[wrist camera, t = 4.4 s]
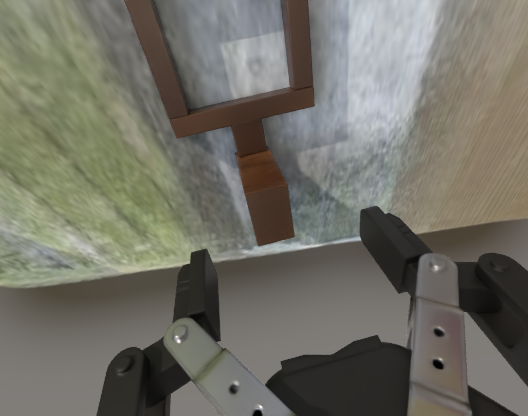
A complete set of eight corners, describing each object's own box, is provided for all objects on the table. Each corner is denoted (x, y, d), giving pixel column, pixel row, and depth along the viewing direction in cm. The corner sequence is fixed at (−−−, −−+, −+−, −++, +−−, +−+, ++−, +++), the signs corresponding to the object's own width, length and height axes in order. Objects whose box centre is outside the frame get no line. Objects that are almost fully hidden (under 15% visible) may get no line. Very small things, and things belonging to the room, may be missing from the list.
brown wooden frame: (205, 208, 22) (206, 260, 17) (109, -53, 13) (54, -96, 8) (314, 181, 22) (344, 224, 17) (295, -89, 13) (346, -150, 8)
